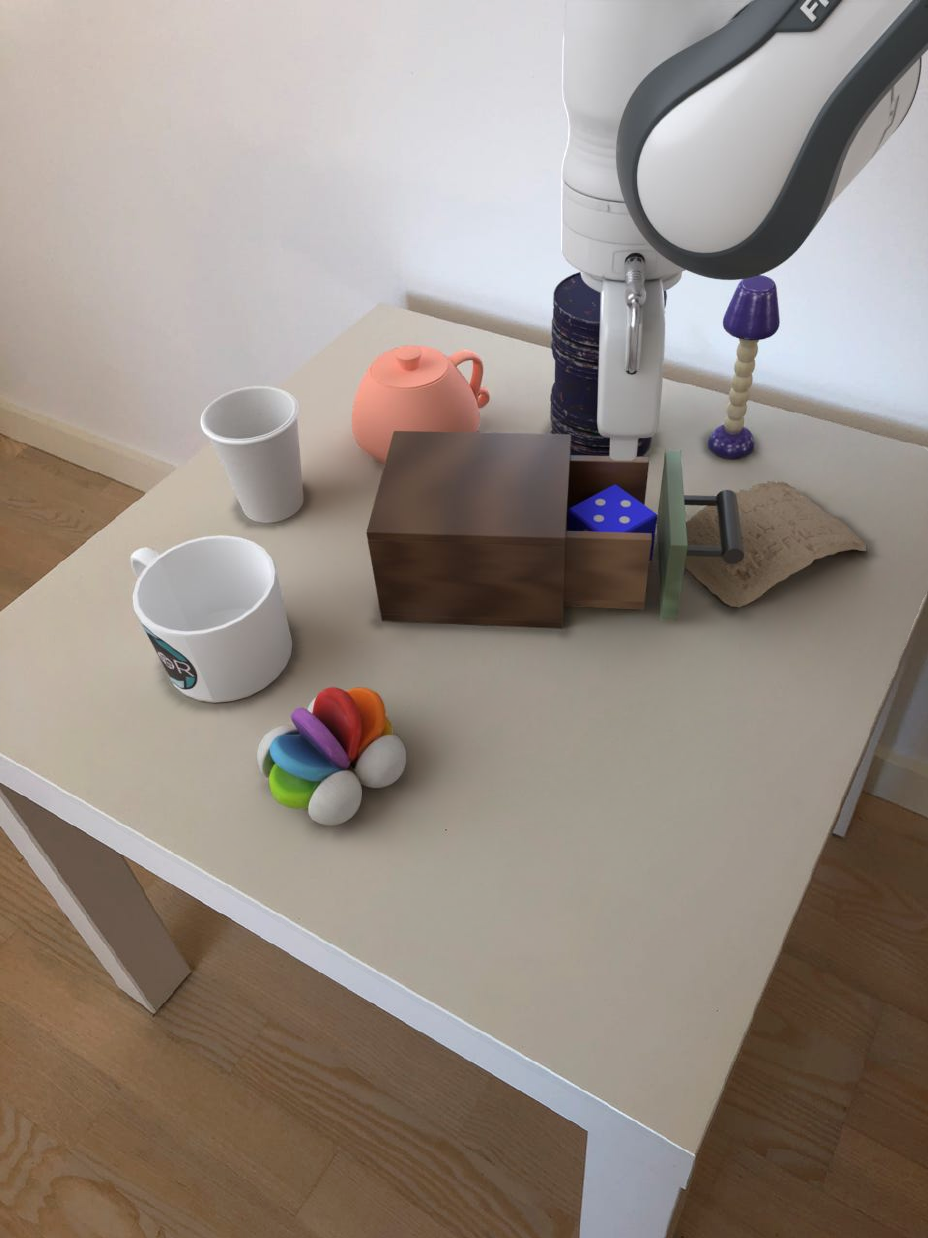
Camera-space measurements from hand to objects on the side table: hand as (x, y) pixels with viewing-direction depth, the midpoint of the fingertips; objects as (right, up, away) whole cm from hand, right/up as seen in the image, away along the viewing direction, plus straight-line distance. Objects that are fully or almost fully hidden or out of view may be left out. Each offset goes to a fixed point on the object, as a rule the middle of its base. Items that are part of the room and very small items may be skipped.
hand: (622, 414), depth 67 cm
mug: (-31, -17, +9) cm, 36 cm away
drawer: (+2, -10, +11) cm, 15 cm away
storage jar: (+2, +3, +25) cm, 25 cm away
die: (+1, -10, +10) cm, 14 cm away
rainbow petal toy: (-20, -25, 0) cm, 33 cm away
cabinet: (-10, -10, +13) cm, 19 cm away
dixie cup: (-29, -4, +21) cm, 36 cm away
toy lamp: (+14, +2, +23) cm, 27 cm away
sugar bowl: (-15, +3, +26) cm, 30 cm away
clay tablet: (+14, -9, +13) cm, 21 cm away
